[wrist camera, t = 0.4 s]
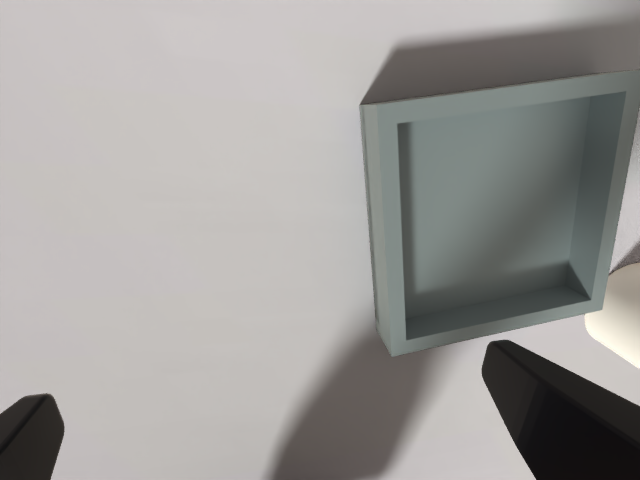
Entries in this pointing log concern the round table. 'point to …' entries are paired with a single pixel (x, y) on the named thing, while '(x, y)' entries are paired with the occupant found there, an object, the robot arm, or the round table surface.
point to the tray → (495, 205)
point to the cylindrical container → (619, 315)
